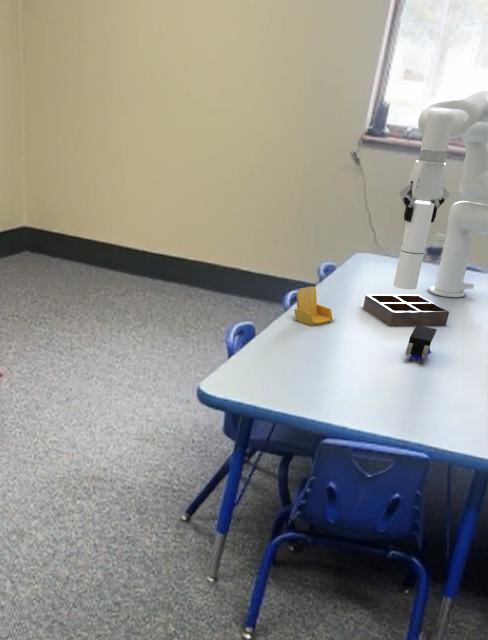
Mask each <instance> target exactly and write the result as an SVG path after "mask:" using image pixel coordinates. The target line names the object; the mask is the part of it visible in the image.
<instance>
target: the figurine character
mask: <svg viewBox="0 0 488 640" xmlns="http://www.w3.org/2000/svg"><path fill="white" fill-rule="evenodd" d="M437 331H438V330H437V328H433V327H430V326H419V325H416V326H414V329H413V331H412V332H411V334H410V336H409V340H408V343H407V346H406V349H405V355H406V356H409V358H408V361H409V362H412V361H413V359H414V360H419V361H418V364H421V363H422V361H423V359H427V358H428V355H430V354H432V351H431V344H432V341H433V340H434V338H435V336H436V333H437Z"/></svg>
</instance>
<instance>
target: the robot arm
mask: <svg viewBox="0 0 488 640" xmlns="http://www.w3.org/2000/svg"><path fill="white" fill-rule="evenodd" d="M417 127H418V129H419V133H421V134H423V135H422V141H421V146H420V152H419V156H418V160H416V161H414V164H413V167H412V169H411V172H410V175H409V178H408V182H407V185H406V186H405V187H403V189H402V190H399V196H400V198H401V201H402V202H403V204H404V207H405V208H404V214H403V220H404V221H405V222H407V221H408V222H410V221H411V218H412V213H413V208H412V206H413V204H414V203H415V201H416V200H430V202H432V203H435V205H434V209H433V214H432V219H431V223H434V222H435V219H436V217H437V213H438V209H439V208H440V207H441V205H443V204H444V203H445V201H446V200H447V199H448V198H449V197H450V192H449V191H448V190H447V189H446V188H445V182H446V174H447V163H446V160H447V159H450V156H451V155H450V153H448V149H449V144H450V139H458V138H462V141H463V145H464V148H465V156H464V160H463V165H462V171H461V175H460V178H459V179H460V180H459V184H458V185H459V186H458V193H459V194H460V196H462V197H464V198H468V199H472V200H473V199H474V200H479V201H486V202H488V91H486V90H477V91H473V92H471V93H469V94H467V95H465V96H464V97H461V98H454V99H448V100H440V101H435V102H432V103H430V104H428V105H426V106H425V108H423V109H422V111H421V113H420V115H419V117H418V122H417ZM470 233H473V234H479V235H485V236H488V204H486V203H479V202H474V201H468V200H460V201H457V202H454V203H453V204H452V205H451V206H450V208H449V211H448V216H447V229H446V234H445V235H446V236H445V240H444V244H443V249H442V254H441V257H440V262H439V266H438V270H437V275H436V279H435V283H434V285H433V286H430V287H429V292H430V293H431V294H434V295H436V296H441V297H444V298H445V297H447V298H463V297H464V296H465V294H466V292H465V290H473V289H474V286H475V285H474V283H467V282H466V281H464V280H465V276H466V271H467V268H468V264H469V259H470V256H471V251H472V248H473V243H472V239H471V236H470Z"/></svg>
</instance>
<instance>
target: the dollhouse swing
mask: <svg viewBox="0 0 488 640" xmlns="http://www.w3.org/2000/svg"><path fill="white" fill-rule="evenodd" d="M295 295H296V308H295V309H293V310H294V317H295V321H296V322H300V323H303V324H305V325H309V326H311V327H313V326H320V325H323V324H324V325H325V324H328V323H331V322H332V321H334V320H333V313H332V308H330V307H328V306H325V305H322V304H318V302H317V299H318V298H317V289H316V287H314V286H307V287H302V288H298V289H297V291H296V293H295Z"/></svg>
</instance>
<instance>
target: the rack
mask: <svg viewBox="0 0 488 640" xmlns="http://www.w3.org/2000/svg"><path fill="white" fill-rule="evenodd" d="M362 309H363V310H365V311H366V312H367V313H369V314H371V315H372V316H374V317H375V318H377V319H378V320H380V321H382V322H383V323H384V324H386V325H387V326H389V327H416V325H419V326H424V327H446V326H447V323H448V319H449V315H450V311H449V310H447V309H445V308H444V307H442V306H440V305H438V304H436V303H435V302H433V301H431V300H429V299H427V298H426V297H424V296H422V295H420V294H365V295H364V301H363V306H362Z"/></svg>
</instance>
